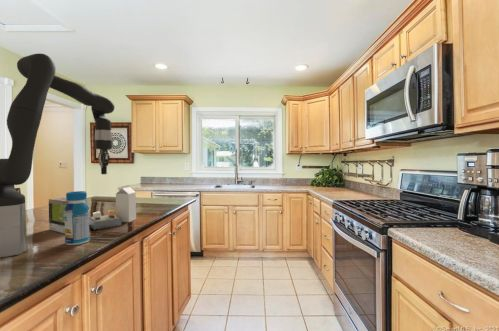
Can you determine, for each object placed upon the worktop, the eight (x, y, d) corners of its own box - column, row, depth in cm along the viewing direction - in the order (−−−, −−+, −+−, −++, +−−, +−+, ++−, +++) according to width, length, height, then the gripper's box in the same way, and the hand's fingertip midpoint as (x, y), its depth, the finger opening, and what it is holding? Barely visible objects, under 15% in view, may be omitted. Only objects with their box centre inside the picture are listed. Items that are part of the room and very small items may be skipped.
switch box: (121, 225, 131) (121, 216, 131) (94, 229, 123) (93, 220, 123) (113, 220, 142) (113, 212, 141) (87, 224, 134) (87, 216, 133)
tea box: (87, 229, 125) (86, 198, 125) (63, 234, 116) (62, 201, 116) (71, 225, 133) (71, 196, 133) (48, 229, 124) (47, 198, 124)
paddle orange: (115, 215, 134) (115, 211, 134) (108, 215, 132) (109, 211, 132) (113, 214, 137) (113, 210, 137) (107, 214, 135) (107, 210, 135)
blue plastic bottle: (84, 244, 101) (83, 193, 101) (60, 246, 99) (59, 193, 99) (93, 238, 109) (92, 190, 109) (70, 239, 108) (69, 191, 107)
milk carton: (136, 219, 144) (135, 184, 144) (129, 222, 137) (128, 186, 137) (124, 219, 145) (123, 184, 145) (116, 222, 138) (115, 186, 138)
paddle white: (101, 216, 130) (100, 212, 130) (94, 217, 128) (94, 213, 128) (99, 215, 132) (99, 211, 132) (93, 216, 131) (92, 212, 130)
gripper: (92, 140, 134) (92, 174, 134) (98, 138, 124) (98, 175, 124) (108, 140, 139) (108, 173, 139) (115, 139, 129) (115, 174, 129)
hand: (103, 174), depth 132 cm, fingers closed
